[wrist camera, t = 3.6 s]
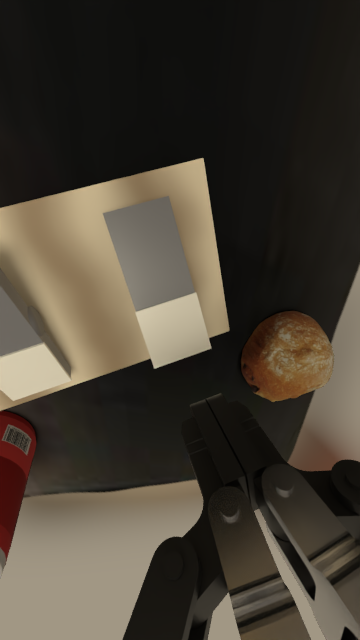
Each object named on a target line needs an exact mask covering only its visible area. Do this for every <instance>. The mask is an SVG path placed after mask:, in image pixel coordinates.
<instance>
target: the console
mask: <svg viewBox="0 0 360 640" xmlns="http://www.w3.org/2000/svg"><path fill="white" fill-rule="evenodd" d="M166 196H169V199H170V202H171V206H172V210H173V213H174V217H175V221H176V224H177V228H178V232H179V235H180V239H181V243H182V246H183V250H184V254H185V257H186V261H187V265H188V268H189V272H190V276H191V279H192V283H193V287H194V291H195V292H196V293H197V297H198V300H199V304H200V308H201V311H202V315H203V319H204V323H205V326H206V330H207V334H208V337H209V338H210V337H213V336H216V335H219V334H222V333H225V332H227V331H229V324H228V317H227V311H226V304H225V297H224V291H223V284H222V278H221V271H220V264H219V258H218V251H217V245H216V238H215V231H214V225H213V218H212V212H211V205H210V198H209V192H208V185H207V178H206V172H205V165H204V159H203V158H201V159H197V160H193V161H189V162H185V163H181V164H177V165H173V166H169V167H165V168H161V169H157V170H152V171H148V172H144V173H140V174H136V175H132V176H128V177H124V178H120V179H116V180H112V181H108V182H104V183H100V184H96V185H92V186H88V187H84V188H80V189H76V190H72V191H68V192H64V193H60V194H56V195H52V196H48V197H44V198H40V199H35V200H31V201H27V202H23V203H19V204H15V205H11V206H7V207H3V208H0V268H1V270H2V271H3V272H4V274H5V275H6V277H7V278H8V279H9V281H10V282H11V284H12V285H13V286H14V288H15V289H16V291H17V292H18V293H19V295H20V296H21V298H22V299H23V301H24V302H25V303H26V305H27V306H33V307H34V308H35V309H36V310H37V311H38V312H39V314H40V316H41V318H42V321H43V324H44V330H45V331H46V333H47V334H48V336H49V337H50V338H51V340H52V341H53V343H54V344H55V345H56V347H57V348H58V350H59V351H60V352H61V354H62V355H63V357H64V358H65V359H66V361H67V362H68V364H69V365H70V366H71V378H72V381H70V382H67V383H64V384H61V385H58V386H55V387H52V388H49V389H47V390H44V391H41V392H38V393H35V394H32V395H29V396H26V397H24V398H21V399H18V400H15V401H13V400H11V399H10V398H9V397H8V396H7V395H6V394H5V393H4V392H2V391H1V390H0V411H1V410H4V409H7V408H10V407H13V406H16V405H19V404H21V403H24V402H27V401H30V400H33V399H36V398H39V397H41V396H44V395H47V394H50V393H53V392H56V391H59V390H61V389H64V388H67V387H70V386H73V385H76V384H79V383H81V382H84V381H87V380H90V379H93V378H96V377H99V376H101V375H104V374H107V373H110V372H113V371H116V370H119V369H122V368H124V367H127V366H130V365H133V364H136V363H139V362H142V361H144V360H147V359H150V358H151V357H150V354H149V351H148V349H147V346H146V343H145V340H144V337H143V334H142V331H141V328H140V325H139V322H138V319H137V316H136V313H135V312H136V311H135V308H134V305H133V302H132V299H131V296H130V293H129V290H128V287H127V284H126V281H125V278H124V275H123V272H122V269H121V266H120V263H119V260H118V257H117V254H116V252H115V249H114V246H113V243H112V240H111V237H110V234H109V231H108V228H107V225H106V222H105V219H104V216H103V213H105V212H109V211H113V210H117V209H121V208H124V207H128V206H132V205H136V204H139V203H143V202H147V201H151V200H155V199H158V198H162V197H166Z"/></svg>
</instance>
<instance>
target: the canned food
mask: <svg viewBox="0 0 360 640" xmlns="http://www.w3.org/2000/svg"><path fill="white" fill-rule="evenodd" d="M35 449H36V436H35V431H34V429H33V427H32V426H31V425H30V423H29V422H28V421H26V420H25V419H24V418H22V417H20V416H18V415H16V414H13V413H10V412H7V411H0V577H1V576H2V572H3V569H4V566H5V565H6V561H7V557H8V553H9V549H10V547H11V543H12V539H13V535H14V531H15V527H16V523H17V519H18V515H19V511H20V507H21V504H22V500H23V496H24V492H25V488H26V484H27V480H28V476H29V472H30V468H31V464H32V461H33V457H34V453H35Z"/></svg>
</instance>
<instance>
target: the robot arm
mask: <svg viewBox="0 0 360 640" xmlns="http://www.w3.org/2000/svg"><path fill="white" fill-rule="evenodd" d="M189 406H190V410H191V414H192V417H193V418H191V419H188V420H186V421H183V423H182V437H183V440H184V443H185V446H186V449H187V452H188V455H189V458H190V461H191V464H192V467H193V470H194V473H195V476H196V478H197V481H198V484H199V487H200V490H201V493H202V496H203V500H204V503H203V510H202V514H201V516H200V518H199V520H198V521H197V523H196V524H195V525H194V526H193V527H192V528H191V529H190V530H189V531H188V532H187V533H186V534H185V535H184V536H183V537H172V538H169V539H167V540H165V541H164V542H162V543H161V544H160V545H159V547H158V548H157V550H156V551H155V553H154V555H153V558H152V560H151V563H150V566H149V569H148V572H147V574H146V577H145V580H144V582H143V585H142V588H141V591H140V593H139V596H138V599H137V602H136V604H135V607H134V610H133V612H132V615H131V618H130V621H129V623H128V626H127V629H126V632H125V634H124V637H123V640H208V634H209V628H210V624H211V618H212V613H213V611H214V610H215V608H216V607H217V606H218V605H219V603H220V602H221V601H222V600H223V598H224V597H225V596H226V595H227V593H228V592H229V594H230V598H231V602H232V607H233V611H234V615H235V619H236V623H237V626H238V630H239V634H240V637H241V640H311V638H310V636H309V634H308V631H307V629H306V627H305V624H304V622H303V620H302V617H301V615H300V612H299V610H298V608H297V606H296V603H295V601H294V599H293V597H292V595H291V593H290V591H289V589H288V588H287V586H286V585H285V584H284V582H283V580H282V578H281V575H280V573H279V571H278V568H277V566H276V563H275V561H274V559H273V556H272V554H271V551H270V549H269V547H268V544H267V542H266V539H265V537H264V535H263V532H262V530H261V527H260V525H259V523H258V520H257V518H256V516H255V513H254V511H255V510H257V509H260V511H261V513H262V515H263V517H264V519H265V521H266V526H267V530H268V532H269V534H270V536H271V538H272V539H273V541H274V543H275V545H276V547H277V548H278V550H279V552H280V553H281V555H282V557H283V558H284V560H285V562H286V564H287V565H288V567H289V569H290V571H291V572H292V574H293V576H294V578H295V579H296V581H297V583H298V584H299V586H300V588H301V590H302V591H303V593H304V595H305V597H306V598H307V600H308V602H309V604H310V606H311V608H312V611H313V613H314V616H315V618H316V621H317V623H318V625H319V627H320V629H321V631H322V633H323V635H324V636H325V638H326V640H360V462H358V461H354V460H341V461H339V462H337V463H336V464H335V465H334V466H333V467H332V470H331V471H313V472H310V471H302V470H299V469H296V468H294V467H292V466H290V465H289V464H288V463H287V462H286V461H285V460H284V459H283V458H282V457H281V455H280V454H279V452H278V451H277V450H276V448H275V447H274V445H273V444H272V443H271V441H270V440H269V438H268V437H267V435H266V434H265V433H264V431H263V430H262V428H261V427H260V426H259V424H258V423H257V421H256V420H255V419H254V417H253V416H252V414H251V413H250V411H249V410H248V408H247V407H246V406H244V405H243V404H241V403H240V402H238V401H234V402H231V403H229V404H228V403H227V401H226V400H225V398H224V396H223V395H222V394H221V393H220V394H217V395H215V396H212V397H209V398H207V399H206V400H202V401H199V402H197V403H194V404H191V405H189Z"/></svg>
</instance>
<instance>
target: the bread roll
mask: <svg viewBox="0 0 360 640" xmlns="http://www.w3.org/2000/svg"><path fill="white" fill-rule="evenodd" d="M333 364H334V354H333V350H332V346H331V344H330V342H329V339H328V338H327V336H326V334H325V333H324V331H323V330H322V329H321V327H320V326H319V324H318V323H317V322H316V321H315V320H314V319H313V318H311V317H310V316H307V315H305V314H303V313H300V312H297V311H285V312H281V313H277V314H275V315H273V316H271V317H269V318H267V319H265V320H264V321H263V322H261V323H260V324H259V325H258V326H257V328H256V329H255V330H254V331H253V334H252V335H251V336H250V338H249V339H248V341H247V343H246V344H245V346H244V348H243V350H242V358H241V371H242V374H243V376H244V378H245V379H246V381H247V382H248V384H249V385H250V386H251V388H252V389H251V390H252V392H253V393H255V394H258V395H260V396H261V397H264V398H267V399H269V400H271V401H272V402H275V401H280V400H284V399H287V398H296V397H298V396H300V395H302V394H304V393H307V392H310V391H313V390H315V389H318V388H321V387H323V386H324V385H325V384H326V383H327V382H328V381H329V379H330V377H331V375H332V371H333V370H332V369H333Z"/></svg>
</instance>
